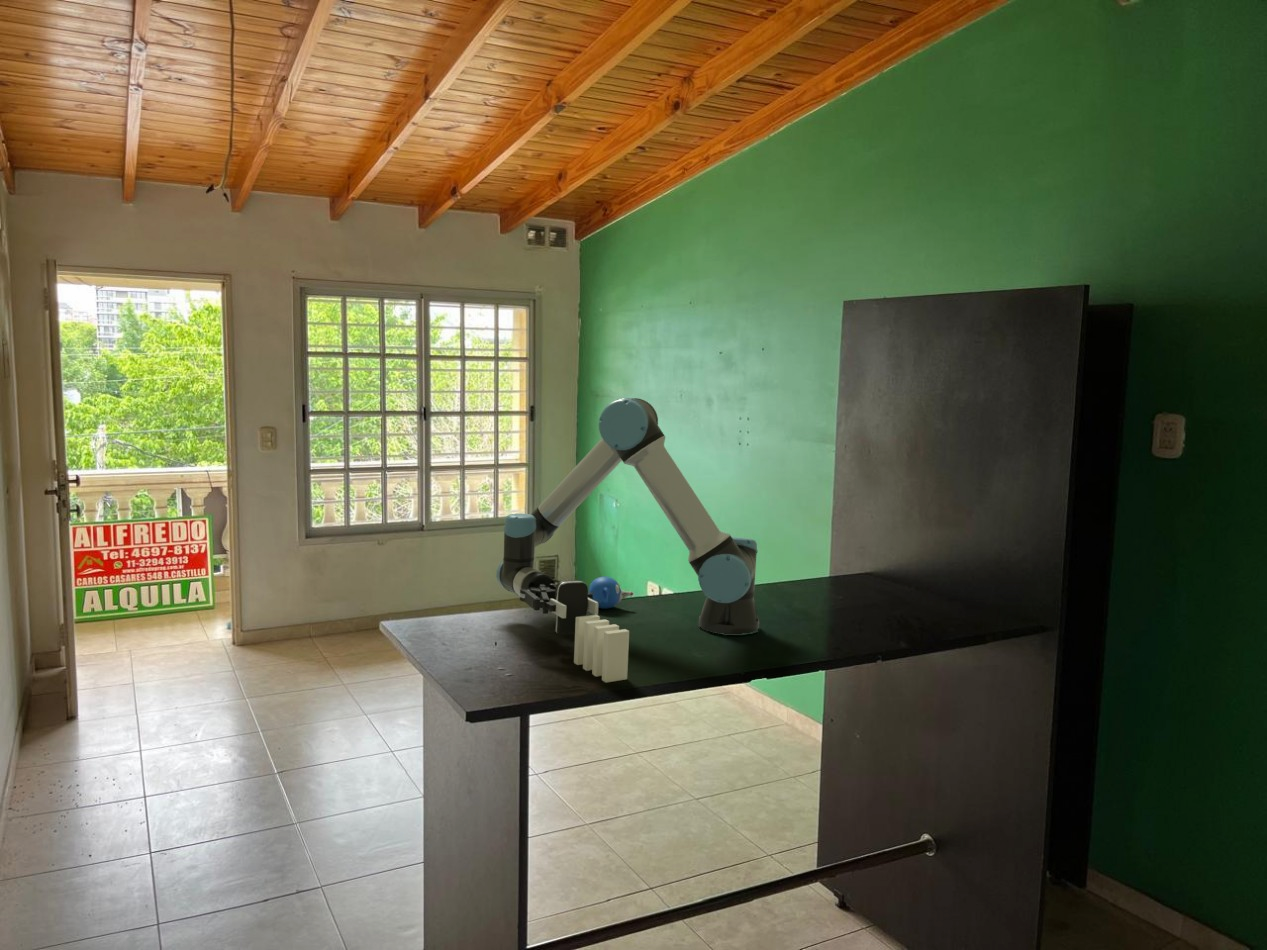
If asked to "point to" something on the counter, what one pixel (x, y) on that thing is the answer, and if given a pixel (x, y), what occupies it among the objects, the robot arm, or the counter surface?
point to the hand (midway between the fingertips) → (580, 610)
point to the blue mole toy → (607, 592)
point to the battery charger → (571, 603)
